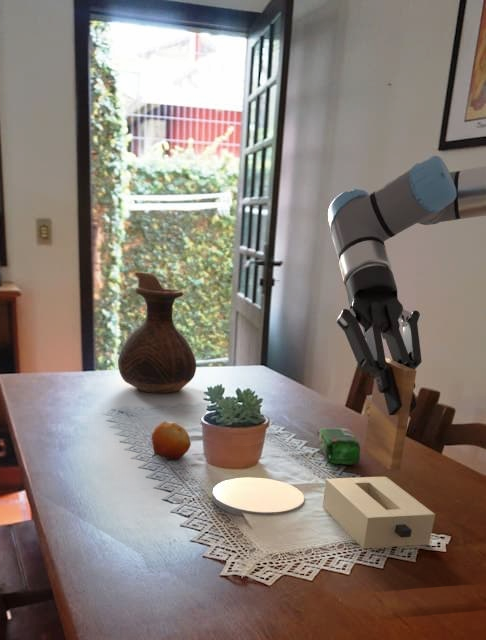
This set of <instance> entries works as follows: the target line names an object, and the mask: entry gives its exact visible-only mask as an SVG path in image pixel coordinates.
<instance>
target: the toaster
mask: <svg viewBox="0 0 486 640" xmlns="http://www.w3.org/2000/svg"><path fill="white" fill-rule="evenodd" d="M322 499H323V500H322V508H323V509H324V510H325V511H326V512H327V513H328V514H329V515H330V516H331V518H332V519H334V520H335V521H336V522H337V523H338V525H340V526H341V527H342V528H343V529H344V530H345V531H346V533H347V534H348V535H350V536H351V538H353V540H354V541H355V542H357V544H358V545H359V546H360V547H361V548H362V549H364V550H365V549H379V548H380V549H382V548H392V547H393V548H395V547H397V548H398V547H412V546H427V545H430V542H431V538H432V533H433V527H434V522H435V518H436V514H435V513H434V512H433V511H432V510H431V509H429V508H427V506H425V505H424V504H422V503H421V502H419V501H418V500H417V499H416V498H415V497H413V496H412V495H411V494H409V493H408V492H407V491H405V490H404V489H403V488H401V487H400V486H399V485H397V483H395V482H394V481H392V480H391V479H390V478H389V477H387V476H363V477H360V476H359V477H337V478H335V477H334V478H325V483H324V492H323V498H322Z"/></svg>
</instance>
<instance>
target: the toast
mask: <svg viewBox="0 0 486 640" xmlns="http://www.w3.org/2000/svg"><path fill="white" fill-rule="evenodd" d="M385 359H386V367H385V368H387V367H392V369H393V373H394V377H395V380H396V384H397V388H398V392H399V396H400V399H401V402H402V407H401V408H400V409H399V410H398V411H397V412H396V413H395V414H394V415H389V412H388V408H387V404H386V400H385V396H384V393H380V392H379V390H378V386H377V383H376V379H374V380H373V385H372V394H371V399H370V408H369V414H368V415H369V416H368V419H367V421H368V422H367V427H366V434H365V442H364V448H363V452H364V453H366V454H367V455H368V456H370V457H371V458H372V459H374V460H375V461H377V462H378V463H379V464H381V465H382V466H383V467H385V468H386V469H388V470H389V471H400V470H401V464H402V459H403V452H404V447H405V440H406V436H407V430H408V423H409V417H410V413H411V412H410V406H411V401H412V395H413V393H414V390H415V388H414V383H415V384H416V376H417V370H416V369H415V370H414V369H411V368H409V367H407V366H404V365H402V364H400V363H397V362H395V361H393V360H392V359H390V358H387V357H385ZM409 412H410V413H409Z"/></svg>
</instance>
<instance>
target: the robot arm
mask: <svg viewBox="0 0 486 640" xmlns="http://www.w3.org/2000/svg"><path fill="white" fill-rule="evenodd" d="M485 216H486V165H485V166H480V167H474V168H468V169H461V170H455V171H450V170H449V168H448V166H447V165H446V163H445V161H444V159H442V157H441V156H439V155H432V156H430V157H428V158H426V159H425V160H423V161H421V162H418V163H415V164H413V165H412V167H411V168H409V169H408V170H406V171H405V172H403V173H402V174H400V175H398V176H397V177H395V178H394V179H392V180H391V181H389V182H387V183H386V184H384V185H382V186H381V187H380V188H378V189H377V190H375V191H373V192H372V193H371V192H370V193H369V192H368V191H365V190H363V189H359V188H354V189H352V190H351V191H343V192H342V193H340V194H339V195H337V196H336V197H335V198H334V199H333V200H332V201H331V203H330V205H329V208H328V212H327V217H328V223H329V224H328V225H329V233H330V236H331V237H330V238H332V242H333V246H334V249H335V253H336V257H337V261H338V266H339V269H340V272H341V277H342V280H343V281H342V282H343V285H344V289H345V290H344V291H345V294H346V298H347V302H348V306H349V309H348V308H343V309H342V311H341V313H340V314H339V316H338V317H337V319H336V324H337V325H338V327H340V328H341V330H342V331H343V332H344V334H345V336H346V339H347V341H348V344H349V346H350V348H351V351H352V354H353V355H354V359H355V360H356V363H357V365H358V368H359V370H360V371H361V372H362V373H367V372H368V373H370V374H369V376H370V378H371V379H376V383H377V386H378V390H379V392H380V393H384V396H385V400H386V404H387V408H388V412H389V415H394V414H395V413H396V412H397V411H398V410H399V409H400V408H401V407H402V402H401V399H400V396H399V392H398V388H397V384H396V380H395V377H394V373H393V369H392V367H387V368H385V367H386V359H385V358H386V354H385V348H384V343H383V340H385V342H386V346H387V349H388V351H389V354H390V357H391V360H393V361H395V362H397V363H400V364H402V365H404V366H407V367H409V368H411V369H414V370H416V369H417V368H418V367H419V366H420V365H421V363H422V351H421V343H420V335H419V334H420V333H419V326H418V322H419V319H420V316H421V313H420V312H419V311H418V310H416V309H415V310H413V311H412V312H410V311H408V310H406V309H404V306H403V304H402V303H401V301H400V300H399V299H398V298H399V297H398V287H397V284H396V280H395V276H394V273H393V271H392V264H391V262H390V257H389V255H388V252H387V248H386V245H385V242H386V241H388V240H389V239H391V238H394V237H395V236H397V235H398V234H399V233H402V232H404V231H405V230H407V229H409V228H411V227H413V226H414V225H416V224H420V225H422V226H423V225H424V226H429V225H430V226H431V225H436V224H439V223H443V222H450V221H457V220H464V219H471V218H478V217H485ZM399 319H400V320H401V324H400V322H399ZM400 326H401V328H402V333H401V330H400ZM414 389H416V382H415V383H414ZM417 406H418V405H417V401H416V398H415V393H414V392H413V395H412V401H411V406H410V412H409V414H411V413H412V412H413V410H415V408H417Z"/></svg>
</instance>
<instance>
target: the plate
mask: <svg viewBox="0 0 486 640" xmlns="http://www.w3.org/2000/svg"><path fill="white" fill-rule="evenodd" d="M211 498H212V499H211V500H212V501H213V503H214V504H215V505H216V507H218V508H219V509H221V510H223V511H225V512H227V513H230V514H233V515H235V516H239V517H244V518H245V515H244V513H251V514H261V515H262V514H263V515H273V514H283V513H288V512H292V511H295V510H297V509H300V508H301V506H303V504H304V502H305V495H304V493H303V492H302V491H301V490H300V489H298V488H297V487H295V486H293V485H292V484H289V483H286V482H284V481H281V480H275V479H271V478H264V477H237V478H236V477H235V478H230V479H226V480H222V481H221V482H219V483H217V484H216V485H215V486H214V487H213V489H212V496H211Z"/></svg>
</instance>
